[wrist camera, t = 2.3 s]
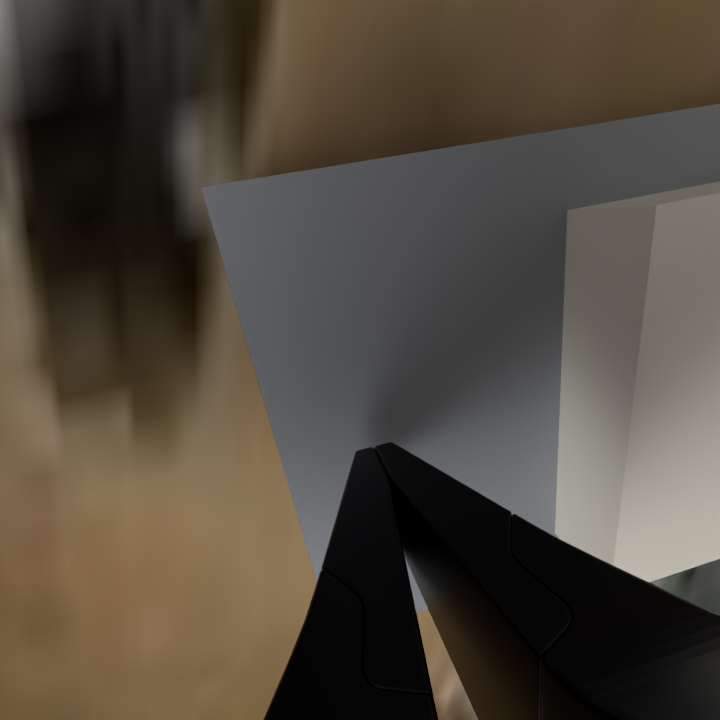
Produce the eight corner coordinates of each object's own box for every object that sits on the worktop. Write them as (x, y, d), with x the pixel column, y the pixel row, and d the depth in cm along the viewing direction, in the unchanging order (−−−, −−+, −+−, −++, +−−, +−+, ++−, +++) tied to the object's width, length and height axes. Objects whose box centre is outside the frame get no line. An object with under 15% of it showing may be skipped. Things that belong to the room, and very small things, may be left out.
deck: (677, 432, 16) (793, 493, 13) (320, 533, 14) (333, 639, 11) (733, 117, 12) (934, 68, 8) (231, 201, 10) (201, 187, 6)
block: (726, 481, 12) (809, 528, 10) (554, 533, 11) (609, 595, 9) (805, 164, 8) (952, 147, 7) (567, 210, 8) (656, 205, 6)
